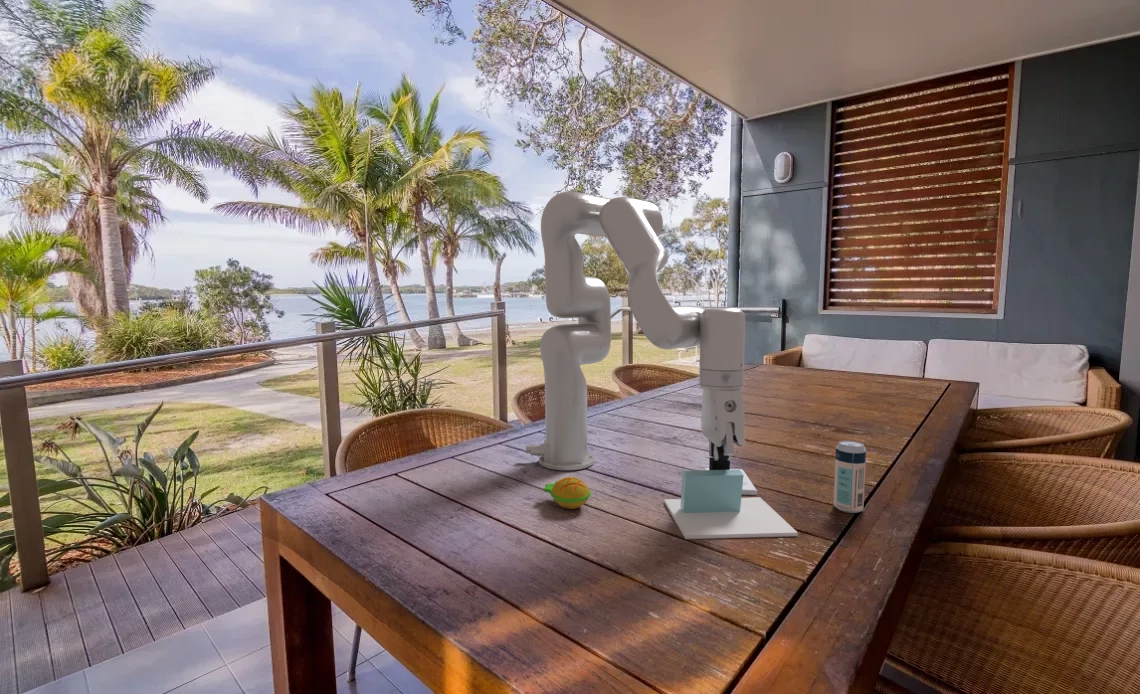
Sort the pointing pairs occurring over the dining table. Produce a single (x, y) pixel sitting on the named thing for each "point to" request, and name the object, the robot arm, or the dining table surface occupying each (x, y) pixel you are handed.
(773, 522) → the mat
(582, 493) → the yellow green rounded piece
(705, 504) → the tile
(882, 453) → the dining table surface
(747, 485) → the external hard drive
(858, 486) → the beer can
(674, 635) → the dining table surface
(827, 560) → the dining table surface
